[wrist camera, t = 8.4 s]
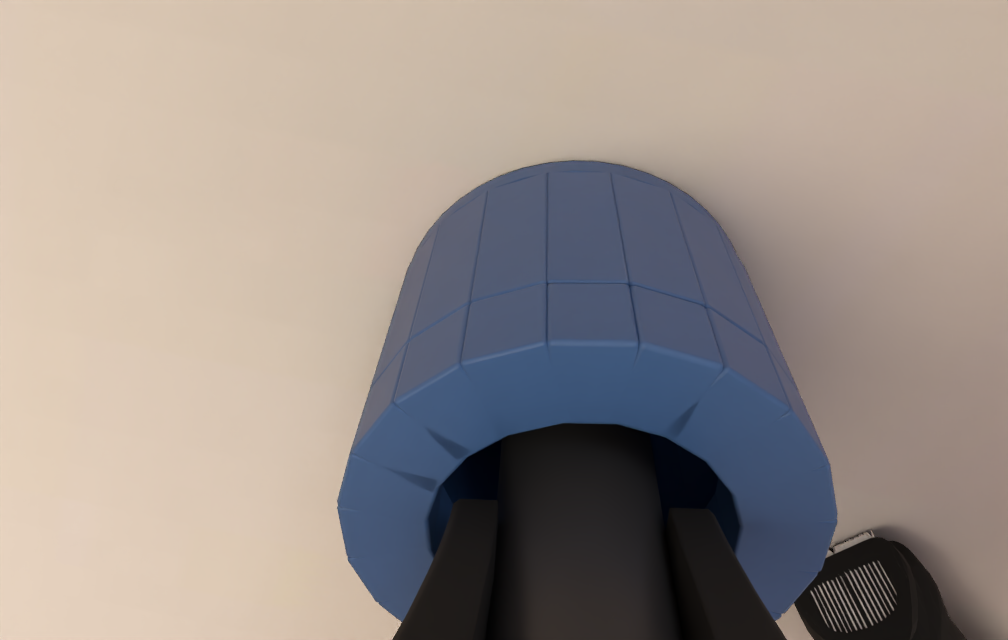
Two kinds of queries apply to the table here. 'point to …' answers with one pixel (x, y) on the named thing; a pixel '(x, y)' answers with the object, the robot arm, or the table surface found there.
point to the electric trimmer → (874, 596)
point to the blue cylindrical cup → (583, 374)
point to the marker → (581, 538)
